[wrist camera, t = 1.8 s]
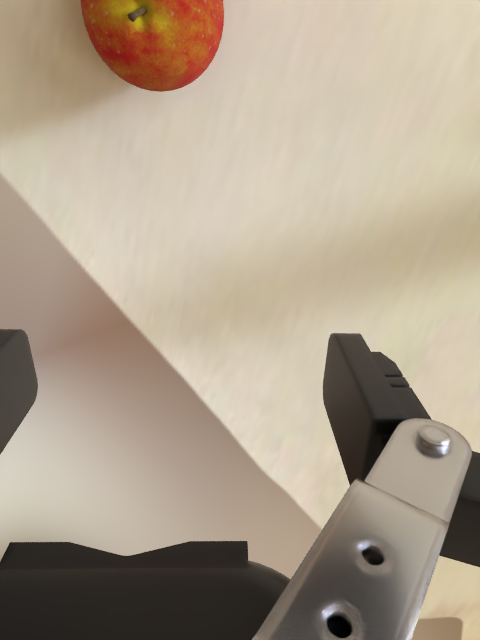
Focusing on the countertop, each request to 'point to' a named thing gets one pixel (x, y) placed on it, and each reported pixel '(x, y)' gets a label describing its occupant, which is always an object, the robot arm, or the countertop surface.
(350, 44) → the countertop surface
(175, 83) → the fruit
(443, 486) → the robot arm
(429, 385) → the countertop surface
